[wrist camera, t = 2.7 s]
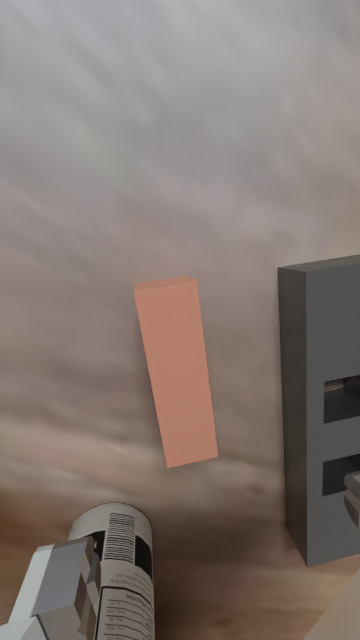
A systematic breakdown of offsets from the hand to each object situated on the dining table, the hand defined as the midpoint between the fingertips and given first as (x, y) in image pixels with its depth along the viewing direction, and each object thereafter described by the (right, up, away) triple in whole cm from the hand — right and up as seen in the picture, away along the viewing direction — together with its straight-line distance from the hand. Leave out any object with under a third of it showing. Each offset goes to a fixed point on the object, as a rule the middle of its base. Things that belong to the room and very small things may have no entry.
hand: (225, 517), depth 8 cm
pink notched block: (-2, +4, +14) cm, 15 cm away
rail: (+13, -3, +18) cm, 23 cm away
